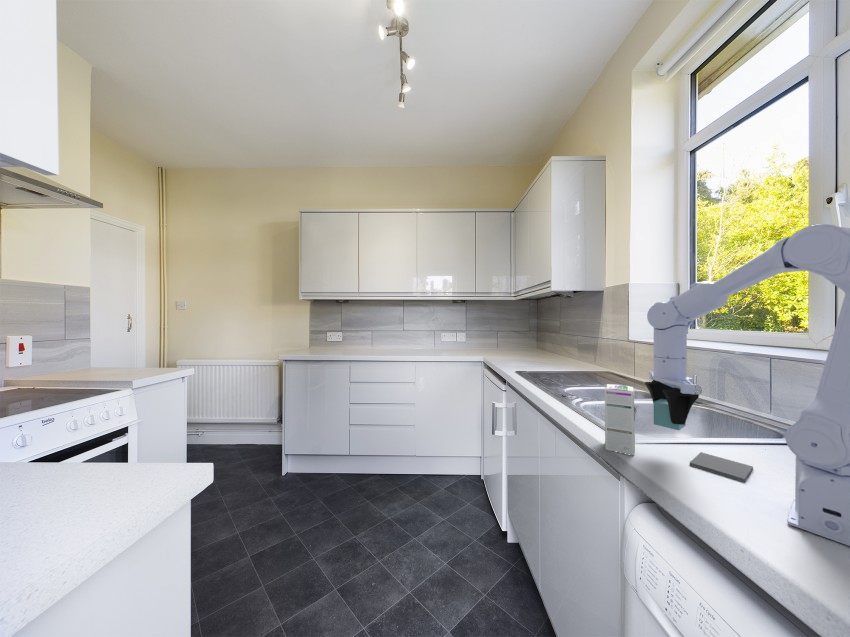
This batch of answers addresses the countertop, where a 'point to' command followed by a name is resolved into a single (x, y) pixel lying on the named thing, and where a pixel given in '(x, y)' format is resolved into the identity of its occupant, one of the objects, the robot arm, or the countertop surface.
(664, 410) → the teal block
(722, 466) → the mat
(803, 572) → the countertop surface
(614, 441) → the syrup box
